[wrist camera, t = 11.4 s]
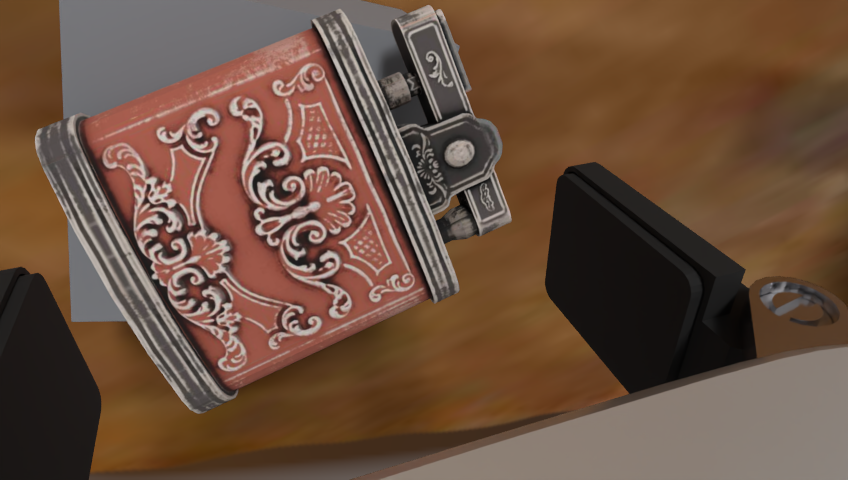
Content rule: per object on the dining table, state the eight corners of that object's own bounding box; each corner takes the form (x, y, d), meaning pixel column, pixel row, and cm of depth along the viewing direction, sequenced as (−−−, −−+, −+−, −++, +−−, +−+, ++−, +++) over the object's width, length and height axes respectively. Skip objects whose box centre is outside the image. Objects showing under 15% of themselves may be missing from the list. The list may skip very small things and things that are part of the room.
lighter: (217, 379, 17) (512, 241, 18) (197, 439, 14) (558, 266, 15) (73, 127, 15) (416, -12, 16) (9, 127, 12) (446, -48, 13)
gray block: (398, 8, 21) (459, 45, 17) (348, 236, 26) (385, 318, 21) (93, -63, 17) (57, -40, 12) (96, 224, 22) (71, 321, 17)
